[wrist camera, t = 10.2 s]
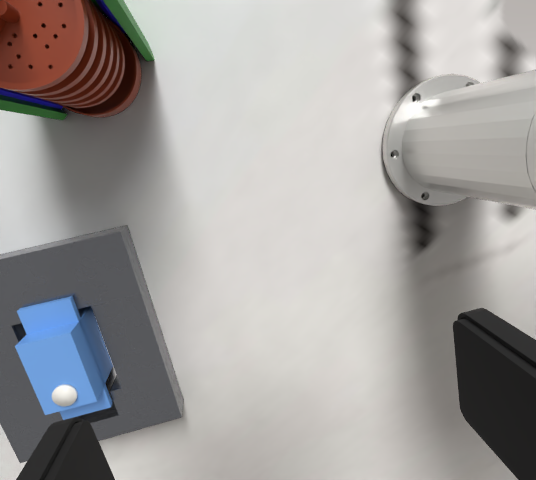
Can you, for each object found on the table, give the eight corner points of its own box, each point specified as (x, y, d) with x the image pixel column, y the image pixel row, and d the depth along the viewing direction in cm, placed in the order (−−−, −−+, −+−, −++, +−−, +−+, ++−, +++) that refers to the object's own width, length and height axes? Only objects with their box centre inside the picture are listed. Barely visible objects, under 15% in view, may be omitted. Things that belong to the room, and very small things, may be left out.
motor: (94, 146, 32) (-77, 144, 13) (2, 69, 30) (-376, -74, 11) (169, 59, 31) (105, -82, 12) (81, -28, 29) (-173, -372, 10)
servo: (83, 284, 35) (59, 309, 30) (119, 384, 38) (104, 424, 33) (35, 295, 35) (1, 323, 29) (76, 395, 38) (52, 438, 32)
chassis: (127, 225, 34) (120, 231, 32) (183, 399, 40) (181, 417, 37) (-51, 266, 33) (-73, 276, 30) (33, 441, 38) (20, 462, 36)
